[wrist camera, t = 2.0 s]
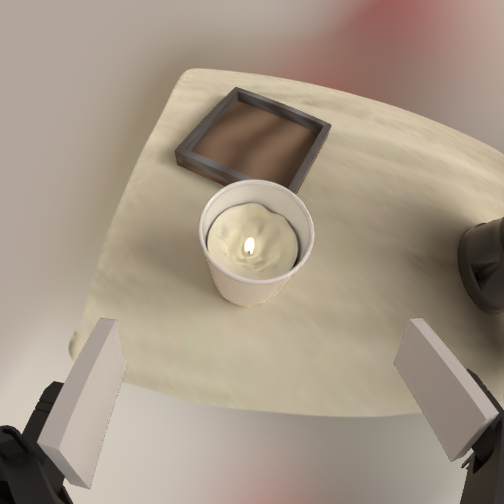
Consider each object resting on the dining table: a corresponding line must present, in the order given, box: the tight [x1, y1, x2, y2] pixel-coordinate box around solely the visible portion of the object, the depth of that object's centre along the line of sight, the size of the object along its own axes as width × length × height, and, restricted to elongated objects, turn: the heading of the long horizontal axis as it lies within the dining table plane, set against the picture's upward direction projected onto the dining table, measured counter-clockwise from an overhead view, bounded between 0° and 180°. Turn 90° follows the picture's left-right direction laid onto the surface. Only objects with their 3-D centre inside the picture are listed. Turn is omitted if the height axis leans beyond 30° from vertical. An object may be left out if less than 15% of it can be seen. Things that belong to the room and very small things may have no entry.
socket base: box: [175, 87, 331, 195], centre depth 43 cm, size 17×17×3 cm
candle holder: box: [198, 180, 314, 307], centre depth 31 cm, size 10×10×12 cm
